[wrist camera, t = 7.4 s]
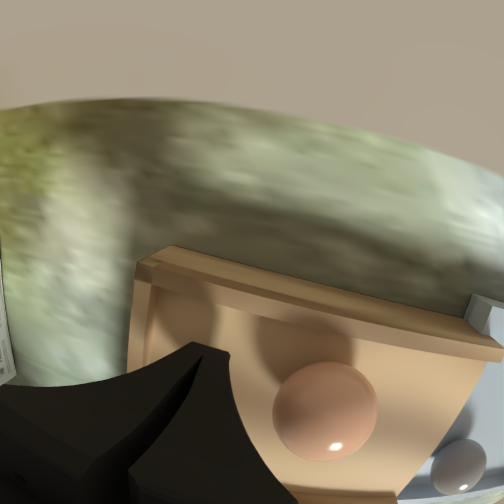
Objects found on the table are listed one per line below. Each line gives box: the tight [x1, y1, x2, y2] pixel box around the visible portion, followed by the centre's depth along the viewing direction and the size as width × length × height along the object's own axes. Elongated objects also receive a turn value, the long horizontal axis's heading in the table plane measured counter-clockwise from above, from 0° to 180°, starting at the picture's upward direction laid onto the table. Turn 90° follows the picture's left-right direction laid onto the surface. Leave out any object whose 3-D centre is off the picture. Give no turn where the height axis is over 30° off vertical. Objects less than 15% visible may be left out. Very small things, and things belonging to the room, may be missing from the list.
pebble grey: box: [430, 439, 487, 495], centre depth 11 cm, size 3×3×3 cm
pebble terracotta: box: [272, 361, 378, 462], centre depth 9 cm, size 3×3×3 cm
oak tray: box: [127, 245, 504, 504], centre depth 12 cm, size 10×14×3 cm
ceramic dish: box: [396, 293, 504, 504], centre depth 12 cm, size 13×13×2 cm
